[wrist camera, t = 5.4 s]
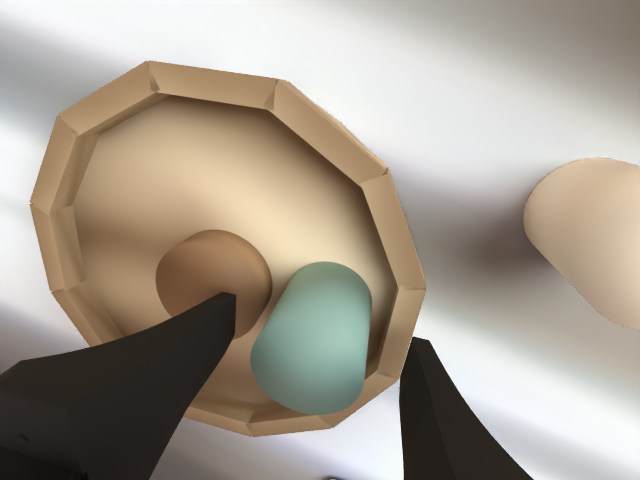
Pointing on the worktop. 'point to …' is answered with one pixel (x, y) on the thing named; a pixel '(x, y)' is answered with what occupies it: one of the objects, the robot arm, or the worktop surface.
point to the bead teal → (316, 341)
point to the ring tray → (219, 222)
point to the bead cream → (592, 232)
